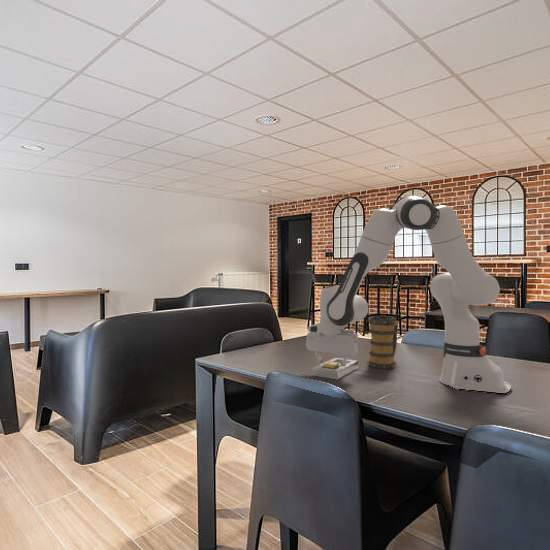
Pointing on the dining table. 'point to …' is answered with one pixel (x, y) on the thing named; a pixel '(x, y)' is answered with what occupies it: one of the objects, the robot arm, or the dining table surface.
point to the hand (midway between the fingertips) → (331, 364)
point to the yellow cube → (331, 365)
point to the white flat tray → (335, 373)
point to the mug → (383, 341)
